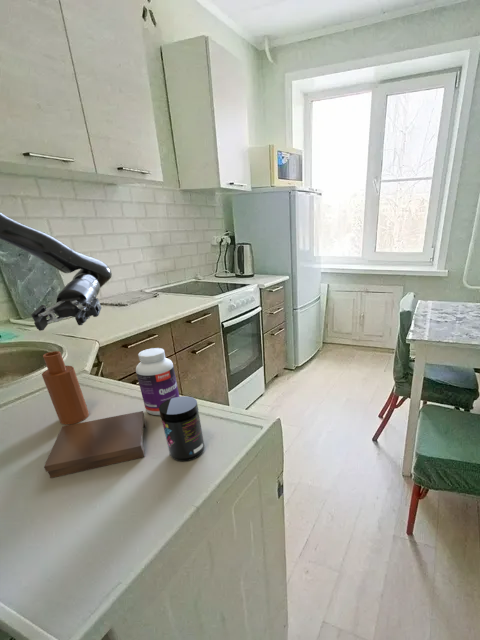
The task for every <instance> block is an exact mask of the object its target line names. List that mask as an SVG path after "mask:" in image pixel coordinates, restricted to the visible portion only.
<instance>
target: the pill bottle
mask: <svg viewBox="0 0 480 640" xmlns="http://www.w3.org/2000/svg"><path fill="white" fill-rule="evenodd" d="M137 356H138V360H139V361H140V362H138V364H137V365H136V367H135V373H136V377H137V381H138V385H139V388H140V393H141V395H142V396H141V397H142V401H143V406H144V409H145V411H146V413H148V414H149V415H152V416H160V411H159V406H160V405H161V404H162V403H163V402H165V401H167V400H169V399H171V398H175V397H180V393H179V388H178V382H177V377H176V373H175V372H176V371H175V368H174V363H173V361H172V360H171V359H170V358H167V357H166V353H165V349H164V348H161V347H151V348H146V349H144V350H141V351H139V353H138V354H137Z"/></svg>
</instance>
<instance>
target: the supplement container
mask: <svg viewBox="0 0 480 640" xmlns="http://www.w3.org/2000/svg"><path fill="white" fill-rule="evenodd" d="M159 411H160V415H159V416H160V419H161V423H162V427H163V431H164V435H165V441H166V445H167V448H168V453H169V456H170V457H171V458H172V459H173V460H175V461H178V462H188V461H192V460H194V459H196V458H198V457H200V456H201V455H202V454H203V453H204V450H205V439H204V434H203V429H202V424H201V418H200V413H199V406H198V400H197V399H196V398H195V397H193V396H187V395H185V396H183V395H182V396H179V397H175V398H171V399H169V400H167V401H165V402H163V403H162V404H161V405H160V406H159Z"/></svg>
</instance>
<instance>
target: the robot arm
mask: <svg viewBox="0 0 480 640" xmlns="http://www.w3.org/2000/svg"><path fill="white" fill-rule="evenodd" d="M0 240H1V241H3V242H6V243H8V244H10V245H12V246H14V247H16V248H18V249H20V250H22V251H24V252H26V253H28V254H30V255H31V256H33V257H35V258H37V259H38V260H40V261H42V262H44V263H46V264H47V265H49V266H51V267H53V268H54V269H56V270H58V271H59V272H61V273H63V274H71V273H73V272H75V271H77V270H78V271H77V272H76V273H75V274H74V275H73V277H72V280H71V281H69V282H68V283H67V284H65V286H64V287H63V288H62V290H61V291H60V292H59V293H58V294H57V297H56V302H55V303H54V304H53V305H50V306H49V307H47V306H46V305H45V304H41V305H39V306H38V307H37V308H36V309H35V310H34V311H33V312H32V313H30V316H31V318H32V319H33V321H34V323H33V324H34V326H35V328H36V330H38V331H39V332H41V331H44V330H45V329H46V327H47V326H48V325H49V324H50V323H52V322H54V323H57V322H59V321H61V320H63V319H68V318H70V317H72V318H75V321H76V324H77V325H78V326H83V325H84V323H86V322H87V320H89V319H90V318H91V317H93V318H97V317H99V316H100V313H101V310H102V305H101V302H100V300H99V298H98V295H99V293H100V291H101V288H103V286H104V285H105V284H107V283H108V282H109V281H110V280H111V278H112V274H113V273H112V270H111V268H110V267H109V266H108V264H106V263H105V262H104V261H102V260H100V259H98V258H95V257H93V256H90V255H87V254H85V253H82V252H79V251H76V250H74V249H73V248H71V247H70V246H68V245H67V244H65V243H64V242H62V241H61V240H58V239H57V238H56V237H54V236H52V235H50V234H48V233H46V232H44V231H42V230H39V229H36V228H33V227H31V226H29V225H26V224H24V223H22V222H19V221H17V220H15V219H12V218H10V217H9V216H7V215H6V214H4V213H2V212H0Z"/></svg>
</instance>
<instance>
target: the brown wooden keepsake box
mask: <svg viewBox="0 0 480 640" xmlns="http://www.w3.org/2000/svg"><path fill="white" fill-rule="evenodd" d="M146 428H147V422H146V419H145V413H144V410H141V411H140V410H139V411H136V412H129V413H125V414H124V413H123V414H120V415H115V416H109V417H103V418H98V419H93V420H89V421H81V422H78V423H75V424H69V425H62V426H61V427H60V429H59V432H58V435H57V436H56V439H55V441H54V443H53V445H52V448H51V450H50V452H49V454H48V456H47V459H46V461H45V462H44V465H43V469H44V470H45V472H46V473H48V476H49V478H50V479H53V478H57V477H62V476H66V475H70V474H74V473H75V474H76V473H79V472H84V471H89V470H92V469H93V470H94V469H97V468H102V467H105V466H110V465H115V464H119V463H124V462H129V461H134V460H138V459H143V458H145V457H146V455H145V454H146V453H145V451H146V450H145V446H144V429H146Z"/></svg>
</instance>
